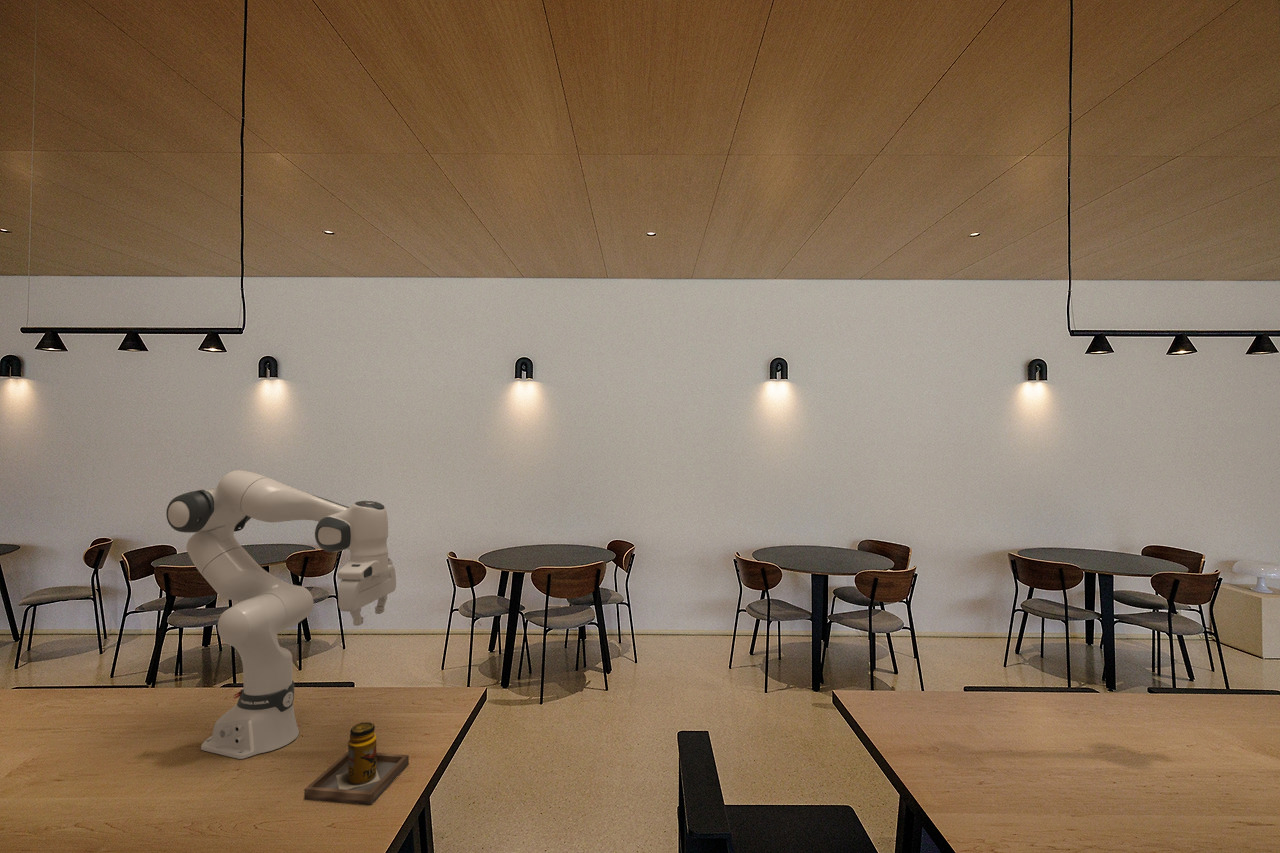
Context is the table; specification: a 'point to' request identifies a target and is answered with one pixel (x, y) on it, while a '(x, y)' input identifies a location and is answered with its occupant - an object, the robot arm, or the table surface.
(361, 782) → the condiment
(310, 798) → the square wooden tray
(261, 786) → the table surface
